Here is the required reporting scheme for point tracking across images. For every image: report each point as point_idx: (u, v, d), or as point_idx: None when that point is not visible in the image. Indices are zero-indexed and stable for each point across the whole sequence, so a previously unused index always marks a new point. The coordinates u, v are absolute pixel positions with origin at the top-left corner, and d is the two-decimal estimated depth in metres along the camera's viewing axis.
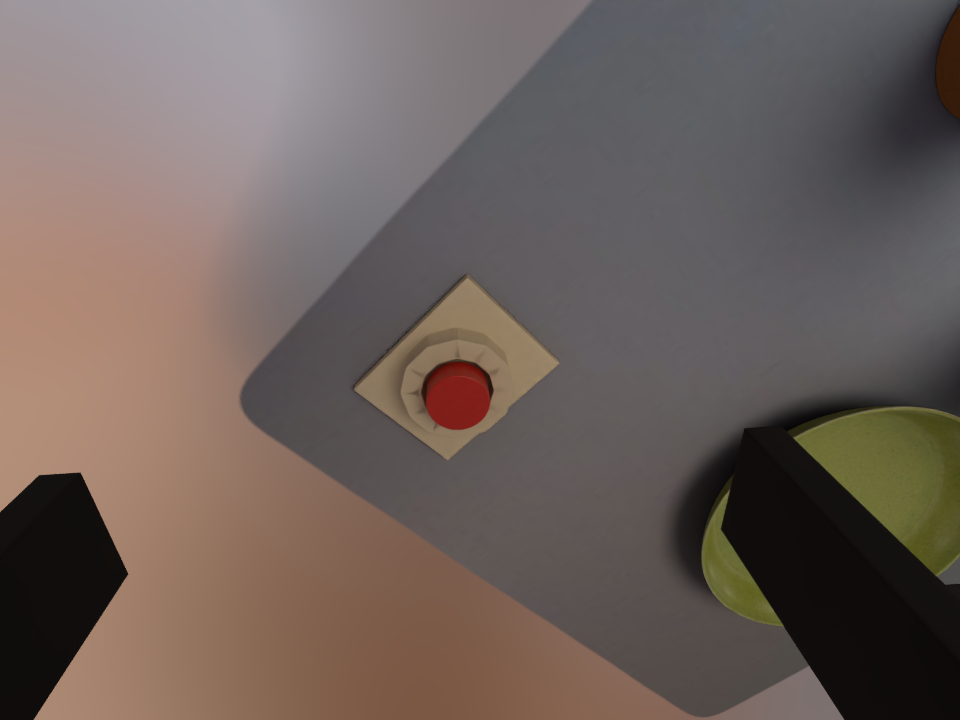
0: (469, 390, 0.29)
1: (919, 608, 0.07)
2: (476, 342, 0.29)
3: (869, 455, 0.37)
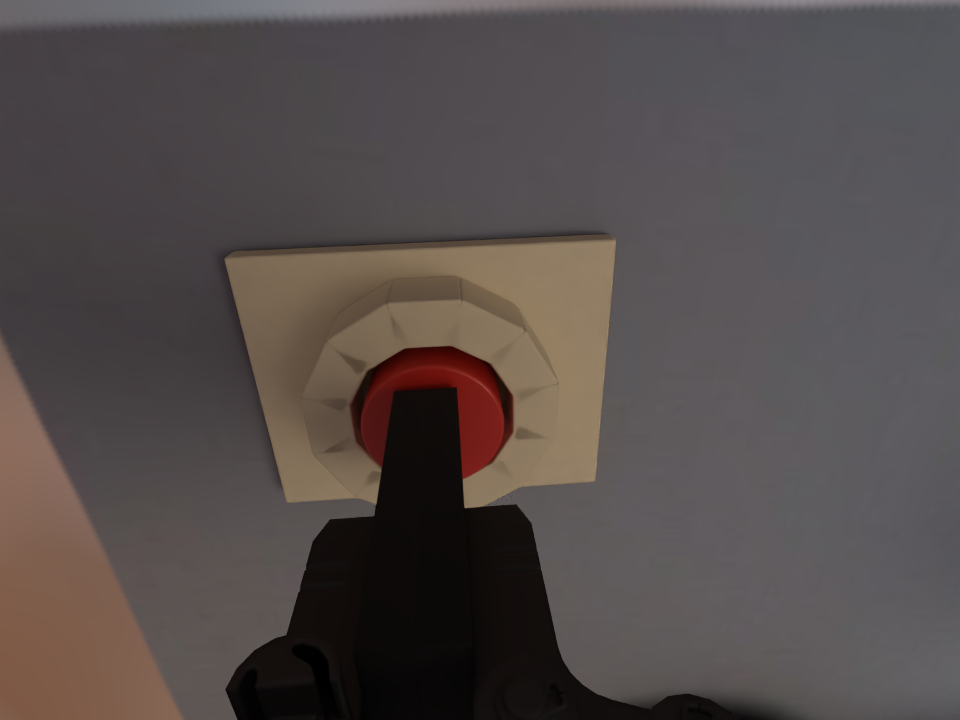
0: (474, 422, 0.13)
1: (427, 514, 0.09)
2: (547, 363, 0.13)
3: None
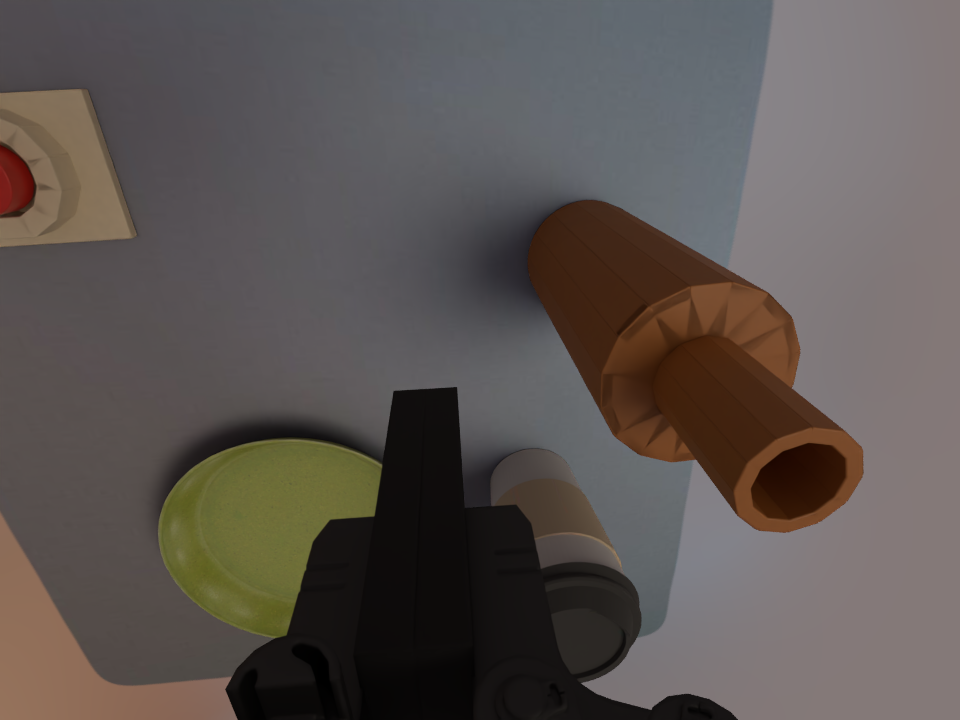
0: None
1: (426, 514, 0.09)
2: (40, 146, 0.27)
3: (362, 504, 0.42)
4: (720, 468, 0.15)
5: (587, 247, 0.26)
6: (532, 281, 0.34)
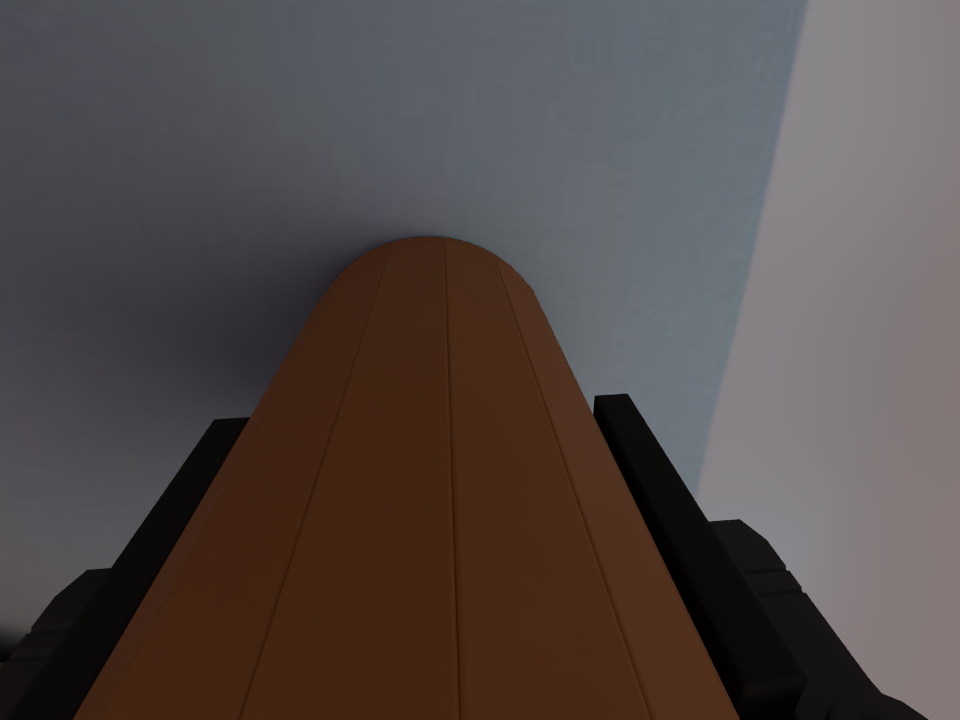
0: None
1: (673, 532, 0.08)
2: None
3: None
4: None
5: (261, 426, 0.08)
6: None
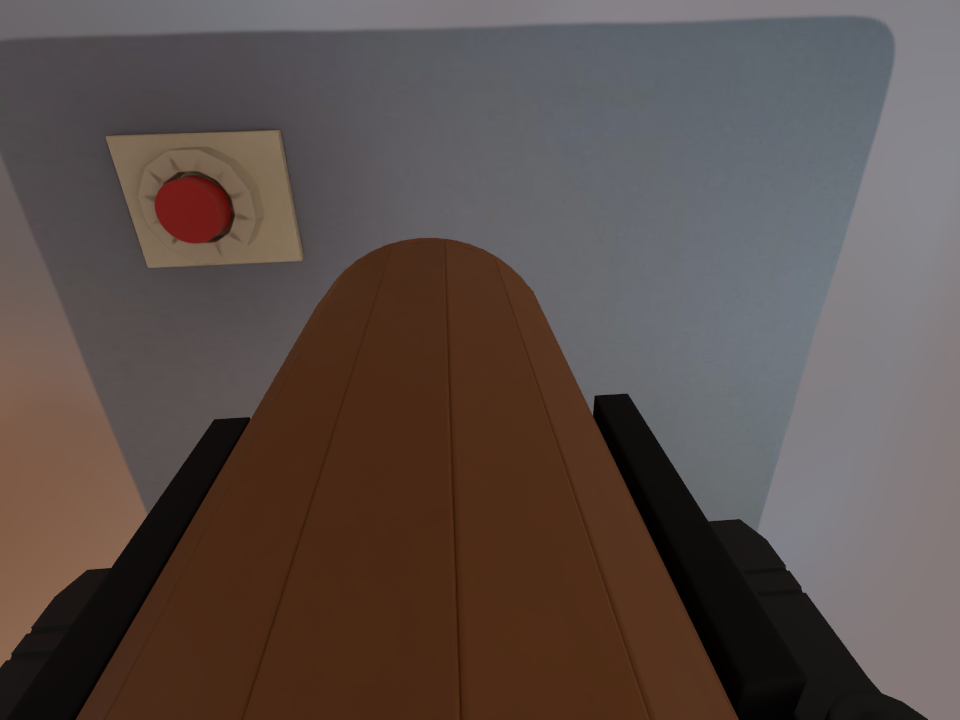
0: (205, 209, 0.30)
1: (673, 532, 0.08)
2: (243, 181, 0.31)
3: None
4: None
5: (262, 429, 0.08)
6: None
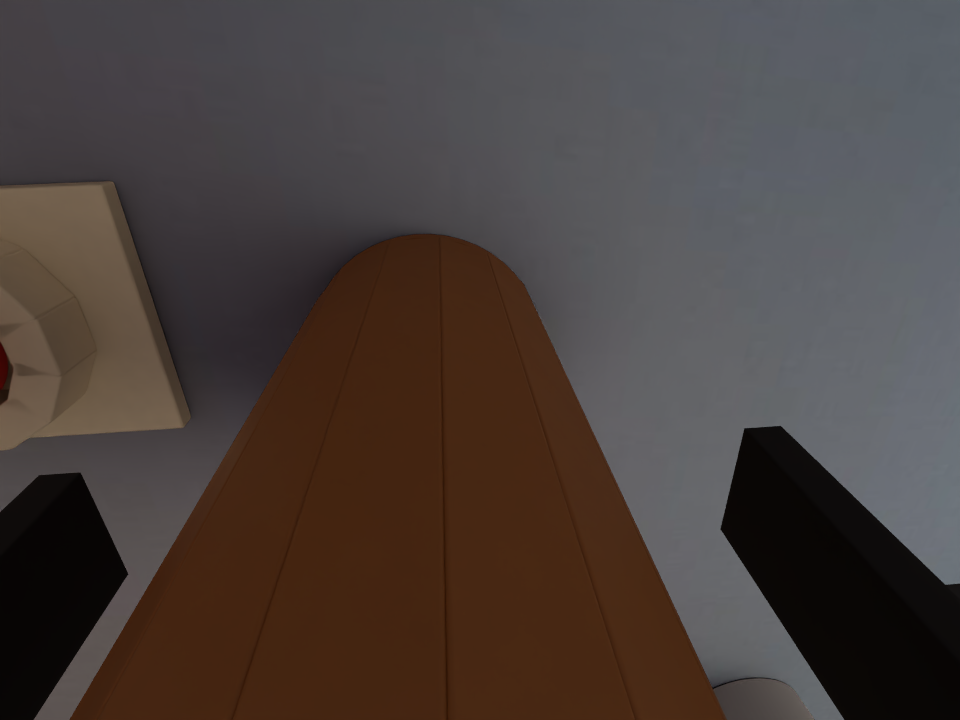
0: None
1: (919, 608, 0.07)
2: (20, 299, 0.14)
3: None
4: None
5: (271, 405, 0.09)
6: None
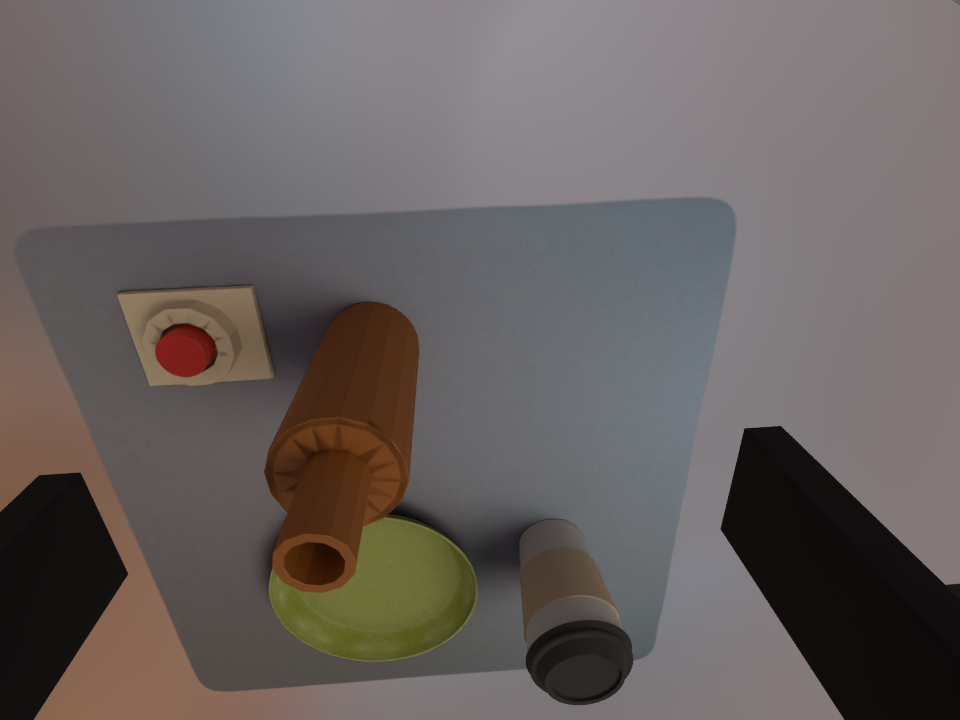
0: (194, 353, 0.39)
1: (919, 608, 0.07)
2: (224, 329, 0.40)
3: (420, 558, 0.54)
4: None
5: (317, 360, 0.34)
6: None
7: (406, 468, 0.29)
